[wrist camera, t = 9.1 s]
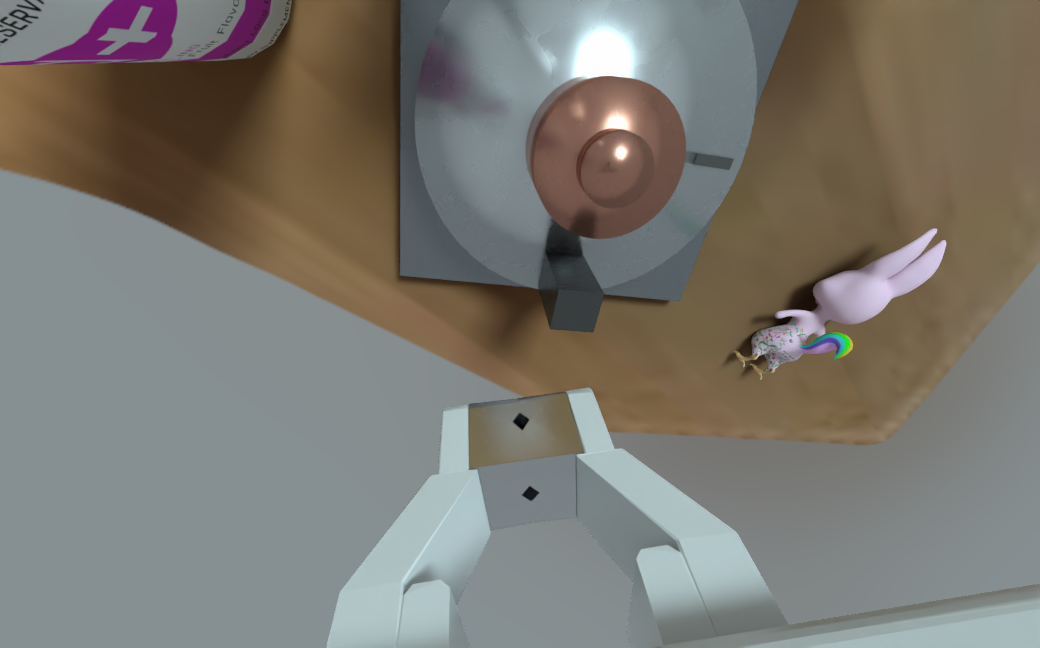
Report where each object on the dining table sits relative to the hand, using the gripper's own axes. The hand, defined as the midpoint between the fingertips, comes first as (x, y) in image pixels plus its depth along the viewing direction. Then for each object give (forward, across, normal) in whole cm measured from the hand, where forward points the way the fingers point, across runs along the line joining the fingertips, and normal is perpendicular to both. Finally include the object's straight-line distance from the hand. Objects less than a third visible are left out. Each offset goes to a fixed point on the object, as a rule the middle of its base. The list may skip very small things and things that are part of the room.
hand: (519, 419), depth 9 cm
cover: (+17, -6, -2) cm, 18 cm away
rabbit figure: (+21, -25, +12) cm, 34 cm away
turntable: (+19, -6, -2) cm, 20 cm away
